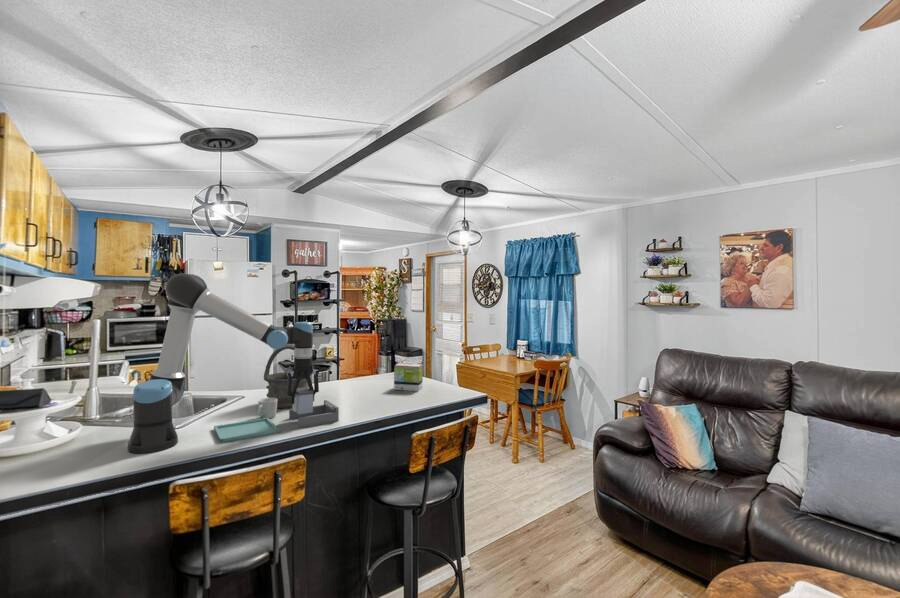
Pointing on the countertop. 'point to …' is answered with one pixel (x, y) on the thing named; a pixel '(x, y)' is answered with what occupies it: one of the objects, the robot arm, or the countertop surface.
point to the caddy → (304, 400)
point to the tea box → (408, 376)
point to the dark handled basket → (281, 382)
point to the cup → (267, 407)
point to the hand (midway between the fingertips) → (302, 409)
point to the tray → (245, 430)
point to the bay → (317, 415)
